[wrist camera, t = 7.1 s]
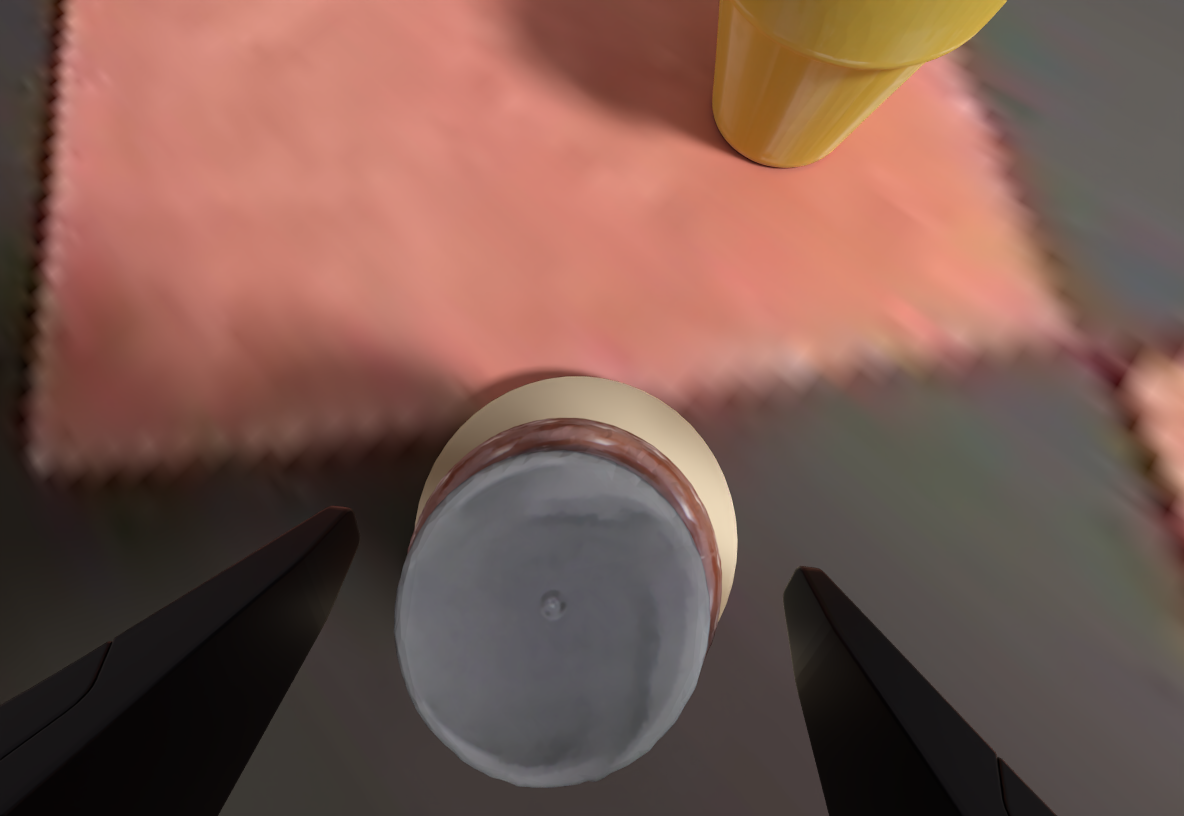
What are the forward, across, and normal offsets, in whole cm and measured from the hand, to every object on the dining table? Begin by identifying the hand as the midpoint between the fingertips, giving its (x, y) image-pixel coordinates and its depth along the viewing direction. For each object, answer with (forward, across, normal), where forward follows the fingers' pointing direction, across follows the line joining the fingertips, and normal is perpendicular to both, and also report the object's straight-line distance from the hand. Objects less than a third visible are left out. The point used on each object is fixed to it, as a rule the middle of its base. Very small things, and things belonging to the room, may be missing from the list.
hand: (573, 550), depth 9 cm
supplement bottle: (+5, 0, +6) cm, 8 cm away
